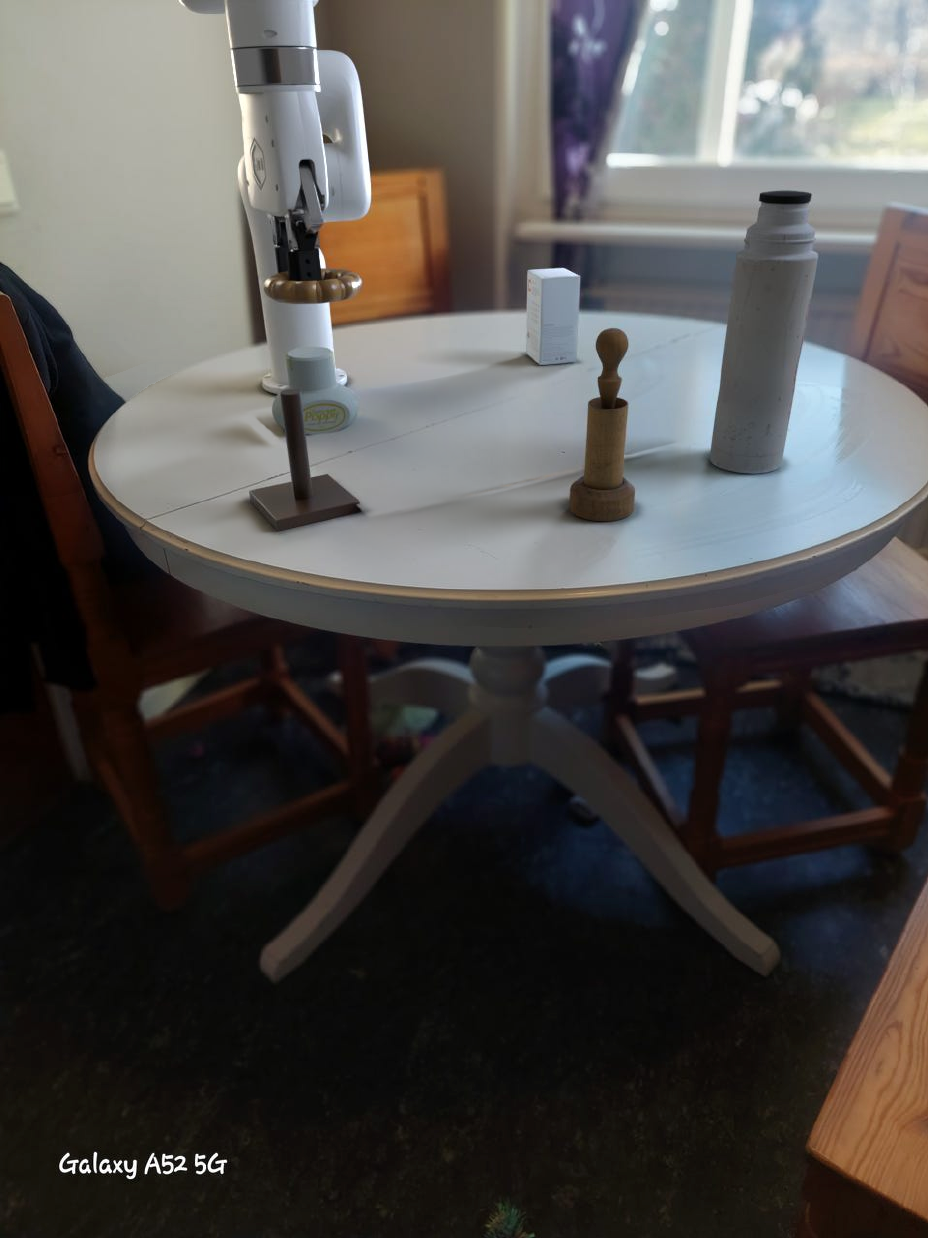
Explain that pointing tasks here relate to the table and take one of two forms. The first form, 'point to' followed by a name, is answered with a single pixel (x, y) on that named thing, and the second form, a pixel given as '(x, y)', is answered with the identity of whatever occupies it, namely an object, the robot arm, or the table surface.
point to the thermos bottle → (765, 335)
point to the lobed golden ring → (314, 287)
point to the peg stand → (301, 480)
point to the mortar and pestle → (605, 442)
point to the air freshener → (318, 392)
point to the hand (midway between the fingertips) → (301, 289)
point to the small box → (552, 315)
